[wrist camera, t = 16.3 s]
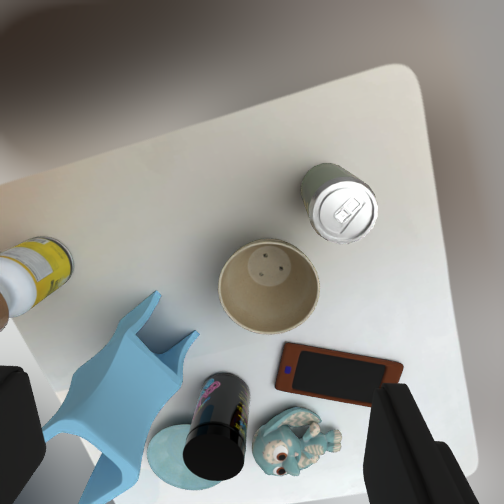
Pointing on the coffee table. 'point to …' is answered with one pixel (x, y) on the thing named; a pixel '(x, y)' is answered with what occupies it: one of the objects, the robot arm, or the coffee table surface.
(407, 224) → the coffee table surface
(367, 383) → the smartphone
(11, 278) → the pill bottle
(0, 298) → the wooden cup
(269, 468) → the stuffed animal
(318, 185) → the beer can
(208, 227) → the coffee table surface
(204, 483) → the saucer
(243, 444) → the supplement container
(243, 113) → the coffee table surface
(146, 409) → the blue doll chair
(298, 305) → the flower pot
